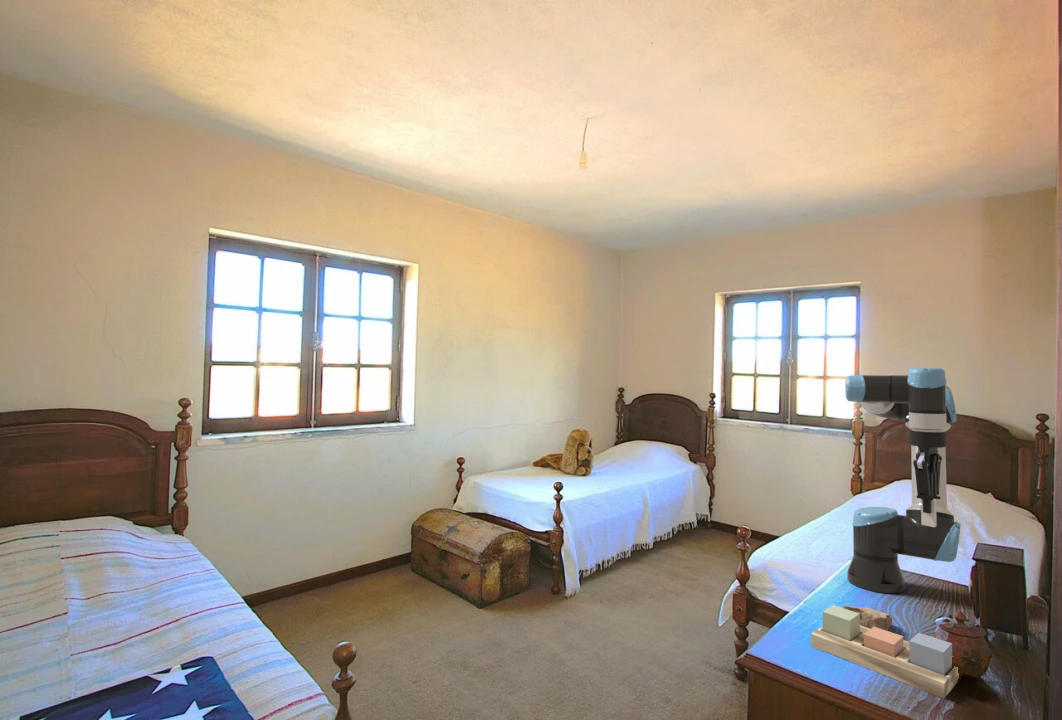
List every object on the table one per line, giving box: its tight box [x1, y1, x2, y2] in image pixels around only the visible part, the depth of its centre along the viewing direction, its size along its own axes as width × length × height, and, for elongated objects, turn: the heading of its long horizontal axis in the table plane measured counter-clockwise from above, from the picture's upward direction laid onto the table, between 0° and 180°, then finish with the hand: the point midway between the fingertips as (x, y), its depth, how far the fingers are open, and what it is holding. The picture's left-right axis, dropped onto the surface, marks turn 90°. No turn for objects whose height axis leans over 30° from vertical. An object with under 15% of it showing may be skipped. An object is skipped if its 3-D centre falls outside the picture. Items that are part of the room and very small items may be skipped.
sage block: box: [822, 604, 860, 641], centre depth 129 cm, size 6×6×5 cm
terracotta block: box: [864, 627, 904, 658], centre depth 122 cm, size 6×6×5 cm
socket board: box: [810, 625, 959, 699], centre depth 122 cm, size 14×26×3 cm, turn 38°
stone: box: [842, 605, 893, 631], centre depth 139 cm, size 9×11×5 cm
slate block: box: [909, 632, 953, 676], centre depth 115 cm, size 6×6×5 cm
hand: (928, 525), depth 132 cm, fingers closed
